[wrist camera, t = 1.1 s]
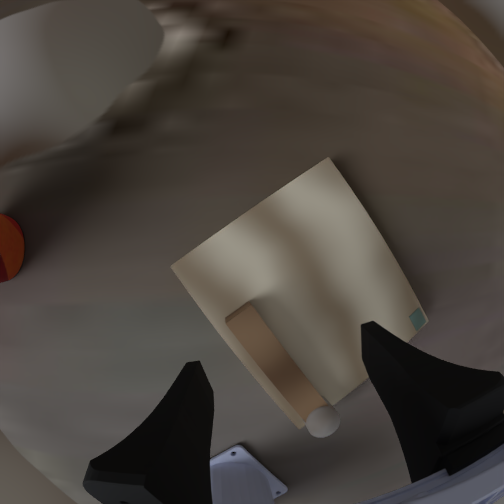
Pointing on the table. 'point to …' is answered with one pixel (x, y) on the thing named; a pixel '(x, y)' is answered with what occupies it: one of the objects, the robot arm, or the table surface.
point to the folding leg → (283, 371)
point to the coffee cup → (10, 248)
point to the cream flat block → (305, 281)
